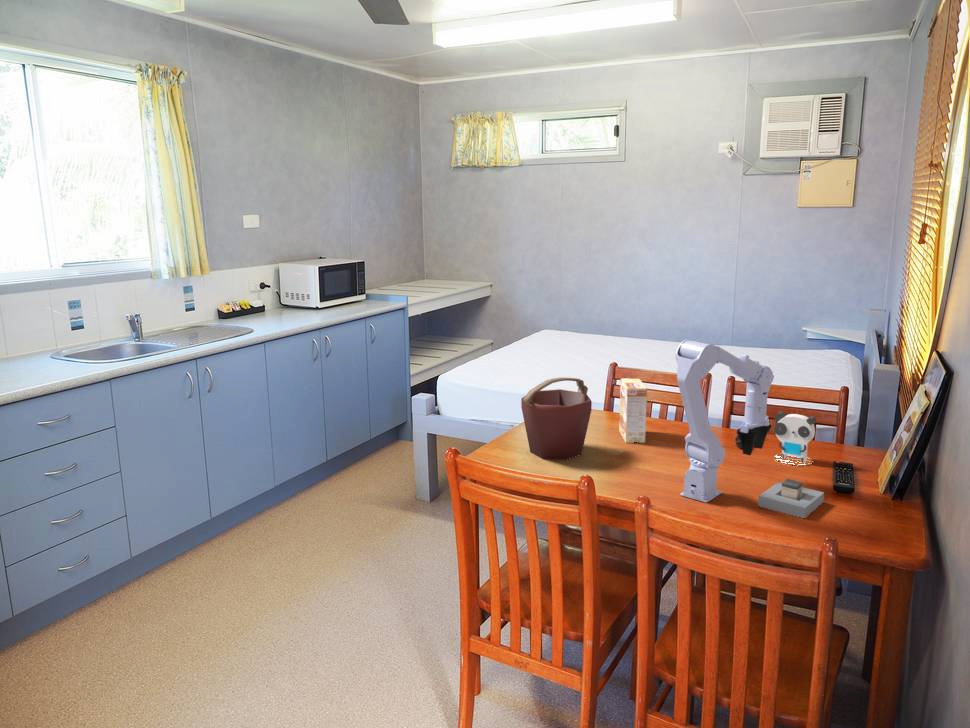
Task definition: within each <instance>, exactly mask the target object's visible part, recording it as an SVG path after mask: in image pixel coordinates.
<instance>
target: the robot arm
mask: <svg viewBox="0 0 970 728" xmlns="http://www.w3.org/2000/svg"><path fill="white" fill-rule="evenodd" d="M674 356H675V357H674V358H675V360H676V364H677V367H676V368H677V370H676V371H677V373H676V381H677V386H678V389H679V393H680V397H681V400H682V404H683V409H684V412H685V413H684V414H685V418H686V421H687V426H688V429H689V433H688V434H687V435H686V436H685V437H684V441H685V448H684V451H685V455H686V456H687V457H688V462H690V466H689V469H687V471H686V472H685V473H684V478H683V479H684V480H683V491H682V492H680V494H679V495H680V496H682V497H684V498H685V497H686V498H689V499H693V500H696V501H700V502H702V503H703V502H704V503H708V502H710V501H711V500H714V499H715V498H717V497H718V496H720V495H721V494H722V493H723V491H721V490H717V485H718V484H717V482H718V468H719V467H720V466H721V465H722V463H723V462H724V460H725V458H726V450H725V447H724V446H723V445H722V443H721V441H720V438H719V437H718V436H717V435H716V434H715V433H714V432H713V431H712V429H711V424H710V420H709V416H708V411H707V407H706V403H705V399H704V395H703V390H702V386H701V383H700V381H701V380H702V379H704V378H706V377H707V375H708V374H709V373H710V371H711V370H712V369H713V368H714V367H715V365H716V364H722V365H724V366H727V367H728V369H729V371H730V373H731V374H733V375H734V376H736V377H739V378H741V379H742V380H743V382H744V383H746V390H745V392H746V393H745V407H744V419H743V421H742V424H741V425H740V428H741V429H740V428H738V429H736V435H737V436H739V438H740V441H741V445H742V448H741V449H742V454H743V455H746V456H751V455H752V453H753V451H754V450H753V449H755V448H756V449H760V450H762V449H763V446H764V443H765V441H766V438H767V435H768V433H769V432H770V430H771V428H772V425H771V423H770V422H769V415H767V409H768V408H767V406H768V405H767V404H768V395H769V392H770V390H771V386H772V383H773V382H774V378H775V375H774V374H773V373H774V371H773V370H772V369H771V367H769V366H766V365H762V364H760V361H758V360H752V359H751V358H750V356H749V355H748V354H744V353H743V354H738V355H734V354H732V353H730V352H728V351H727V350H725V349H724V348H722V347H721V346H718V345H715V344H714V343H713V344H712V343H704V342H700V341H699V342H698V341H694V340H691V339H687V338H686V339H684V340H682V341H681V342H679V344H678V347H677V349H676V350H675V352H674Z"/></svg>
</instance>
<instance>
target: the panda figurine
mask: <svg viewBox="0 0 970 728" xmlns="http://www.w3.org/2000/svg"><path fill="white" fill-rule="evenodd" d="M774 420H775V421H776V422H777V423H776V424H775V426H774V434H775V436H776V438H777V439H778V440H779V444H778V447H779V448H780V450H781V454H782V457H781V456H777V455H778V454H776V455H774V457H776V458H780V457H781V458H782V459H785V458H786V457H787V456H791V457H797V458H801V459H793V458H789V457H787V458H786V459H788V460H782V459H776V460H777V461H778V460H780V461H781V463H785V464H787V463H786V462H789V461H790V460H789V459H792V460H797V462H799V461H798V460H800V461H801V462H799V463H804V464H798V465H806V464H805V463H806V461H809V460H807V458H808V459H811V458H810V457H808V449H809V447H808V446H809V442H811V441H812V440H813V439H814V437H815V433H816V429H815V423H817V417H816V416H813V415H811V416H810V417H808V416H806V415H802V414H798V413H790V414H789V413H788V414H787V415H786V413H785V412H784V411H779V412H778V413H776V414H775V415H774ZM776 460H775V461H776ZM777 461H776V462H777ZM782 461H785V462H782ZM790 462H793V461H790ZM797 462H795V463H797ZM809 462H810V461H809ZM812 462H813V463H814V460H813V461H812ZM781 463H780V464H781ZM785 464H784V465H785ZM788 464H793V465H795V464H794V463H788ZM808 464H810V463H808ZM811 464H812V463H811ZM798 465H797V466H798ZM812 465H813V464H812ZM797 466H796V467H797Z"/></svg>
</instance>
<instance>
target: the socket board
mask: <svg viewBox="0 0 970 728" xmlns="http://www.w3.org/2000/svg"><path fill="white" fill-rule="evenodd" d="M781 490H782V481H778V482H777V483H775V484H774V485H772V486H771V487H769V488H768V489H767V490H765V491H763V492H762V493H761V494H759V495H758V501H757V502H758V503H757V507H759V506H760V508H762V507H763V508H762V509H766V508H767V509H766V510H770V509H771V510H770V511H773V510H774V512H777V511H779V512H778V513H781V512H783V513H782V514H784V513H786V514H785V515H788V514H790V515H789V516H791V515H794V516H793V517H795V516H797V517H796V518H799V517H801V518H800V519H802V518H805V517H806V516H807V515H808V516H809V515H811V514H810V513H811V512H812V511H813V510H814V511H815V510H817V509H818V508H819V507H820V506H821V505H823V504H824V500H825V499H824V498H825V492H824V491H819V490H815V489H811V488H807V487H803V488H802V499H801V500H800V501H798V500H794V499H791V498H787V497H783V496H781ZM822 503H823V504H822ZM819 505H820V506H819ZM818 506H819V507H818ZM817 507H818V508H817ZM816 508H817V509H816ZM814 511H813V512H814ZM813 512H812V513H813ZM808 516H807V517H808ZM807 517H806V518H807ZM806 518H805V519H806Z"/></svg>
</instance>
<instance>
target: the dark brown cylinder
mask: <svg viewBox="0 0 970 728" xmlns="http://www.w3.org/2000/svg"><path fill="white" fill-rule="evenodd" d="M739 429H741V427H740V428H739ZM734 441H735V446H736V447H737V448H738V449H742V445H741V441H740V438H739V436H738V435H737V436H736V437H735V438H734Z"/></svg>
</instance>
